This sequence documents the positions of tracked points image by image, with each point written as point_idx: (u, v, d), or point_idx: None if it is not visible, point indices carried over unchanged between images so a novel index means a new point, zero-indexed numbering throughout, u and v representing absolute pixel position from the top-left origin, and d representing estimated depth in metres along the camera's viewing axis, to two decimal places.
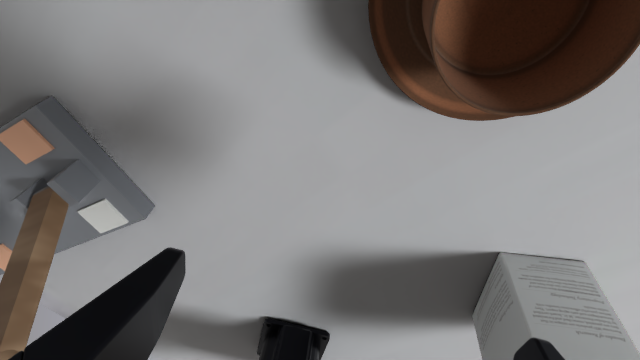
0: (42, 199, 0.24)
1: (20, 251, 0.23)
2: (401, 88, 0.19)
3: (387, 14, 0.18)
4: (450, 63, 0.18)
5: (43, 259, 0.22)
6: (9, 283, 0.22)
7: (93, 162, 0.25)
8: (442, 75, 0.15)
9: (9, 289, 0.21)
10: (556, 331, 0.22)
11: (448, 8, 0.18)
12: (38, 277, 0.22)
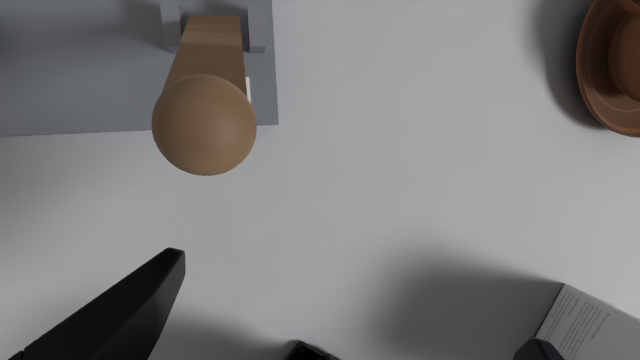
0: (219, 19, 0.18)
1: (207, 40, 0.15)
2: (583, 83, 0.25)
3: (585, 31, 0.25)
4: (618, 78, 0.25)
5: None
6: (205, 55, 0.14)
7: (272, 28, 0.21)
8: None
9: (212, 58, 0.13)
10: None
11: None
12: None
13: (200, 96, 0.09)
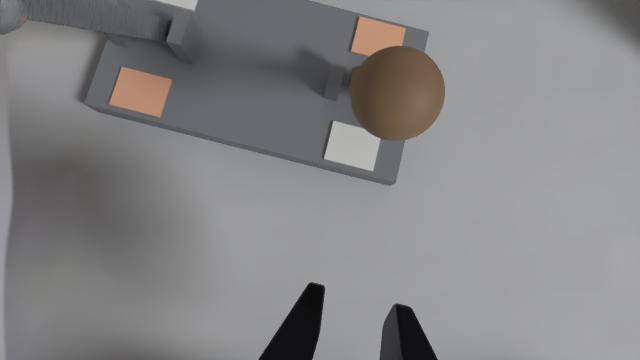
0: None
1: None
2: None
3: None
4: None
5: None
6: None
7: None
8: None
9: None
10: None
11: None
12: None
13: (414, 54, 0.10)
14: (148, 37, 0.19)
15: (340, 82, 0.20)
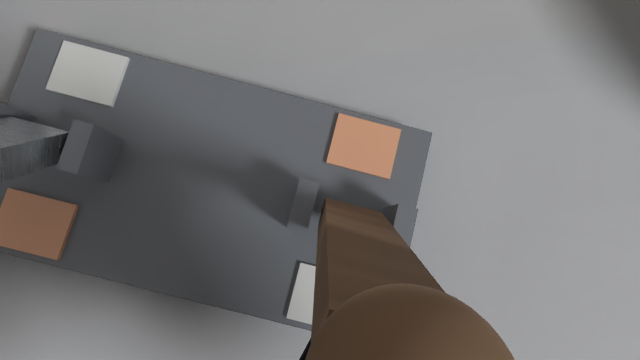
0: (361, 210, 0.15)
1: (359, 229, 0.11)
2: None
3: None
4: None
5: None
6: (368, 249, 0.09)
7: None
8: None
9: (380, 256, 0.09)
10: None
11: None
12: None
13: (457, 342, 0.04)
14: (20, 174, 0.13)
15: (306, 228, 0.14)
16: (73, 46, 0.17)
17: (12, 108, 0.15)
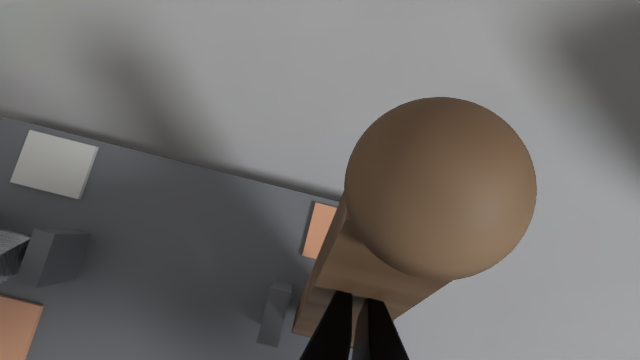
0: None
1: None
2: None
3: None
4: None
5: None
6: None
7: None
8: None
9: None
10: None
11: None
12: None
13: None
14: None
15: (276, 342, 0.14)
16: (39, 135, 0.16)
17: None
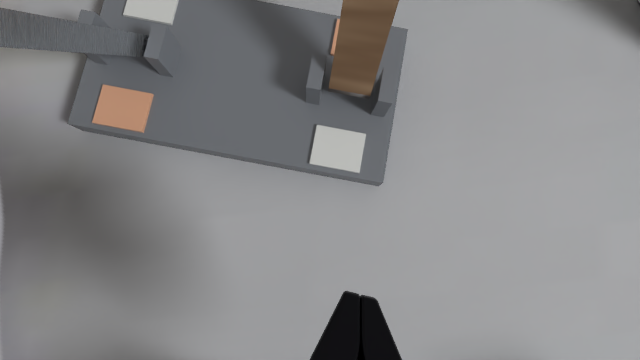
0: None
1: None
2: None
3: None
4: None
5: None
6: None
7: (395, 99, 0.23)
8: None
9: None
10: None
11: None
12: None
13: None
14: (124, 54, 0.19)
15: (319, 86, 0.20)
16: None
17: (105, 23, 0.22)
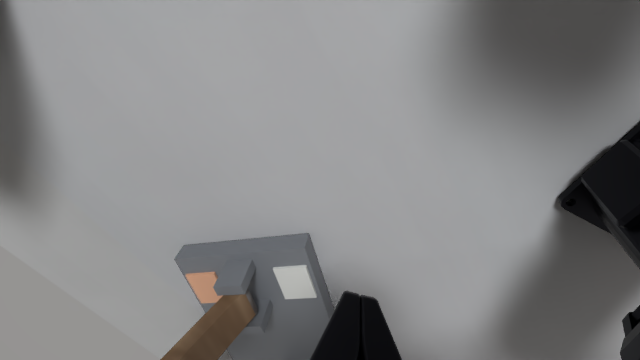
0: None
1: None
2: None
3: None
4: None
5: (182, 348, 0.22)
6: None
7: (232, 252, 0.26)
8: None
9: None
10: None
11: None
12: None
13: None
14: None
15: (258, 327, 0.26)
16: None
17: None
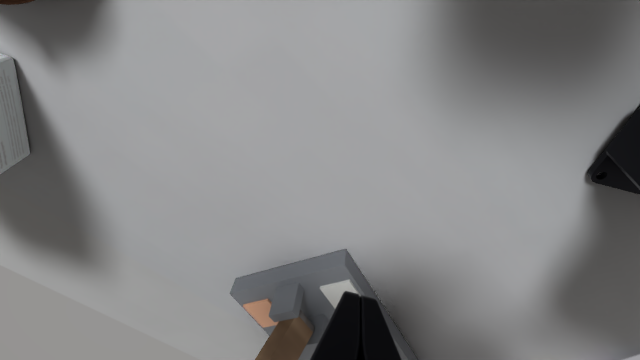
0: None
1: None
2: None
3: None
4: None
5: None
6: None
7: (280, 279, 0.28)
8: None
9: None
10: None
11: None
12: None
13: None
14: None
15: None
16: None
17: None
